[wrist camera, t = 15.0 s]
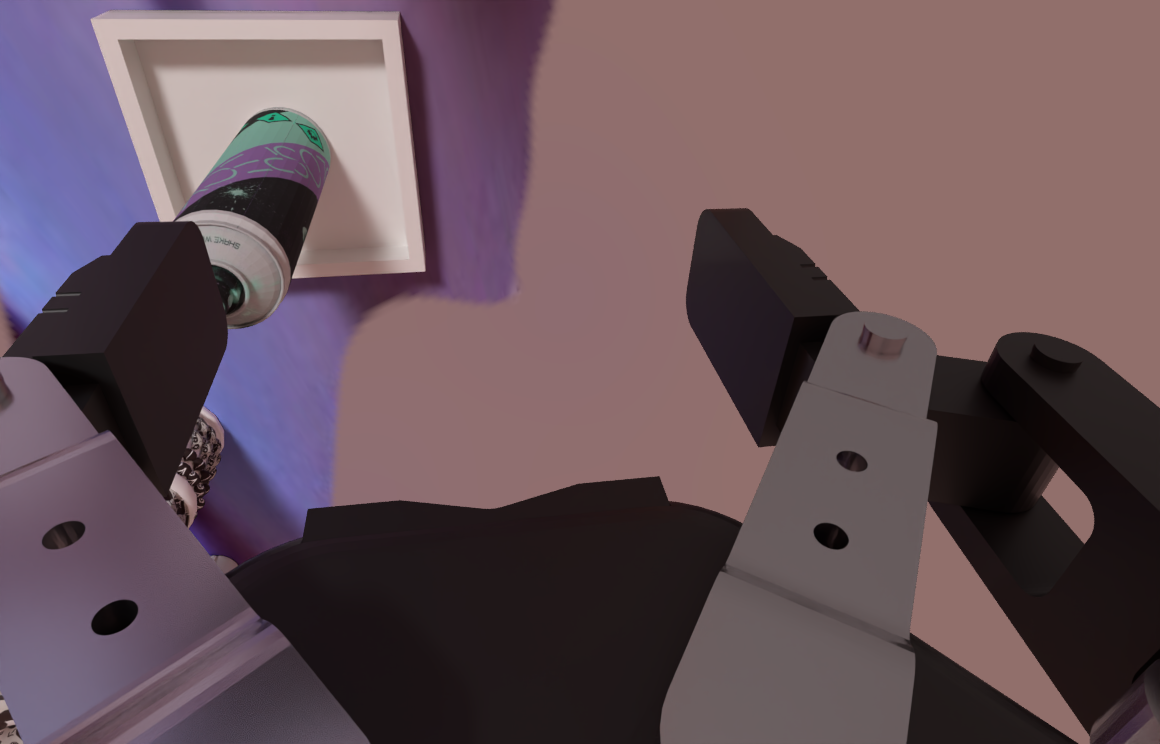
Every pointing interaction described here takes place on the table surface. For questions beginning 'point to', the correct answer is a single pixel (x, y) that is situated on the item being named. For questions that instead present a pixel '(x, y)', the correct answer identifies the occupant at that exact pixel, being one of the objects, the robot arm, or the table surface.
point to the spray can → (260, 210)
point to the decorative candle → (184, 498)
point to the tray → (278, 79)
